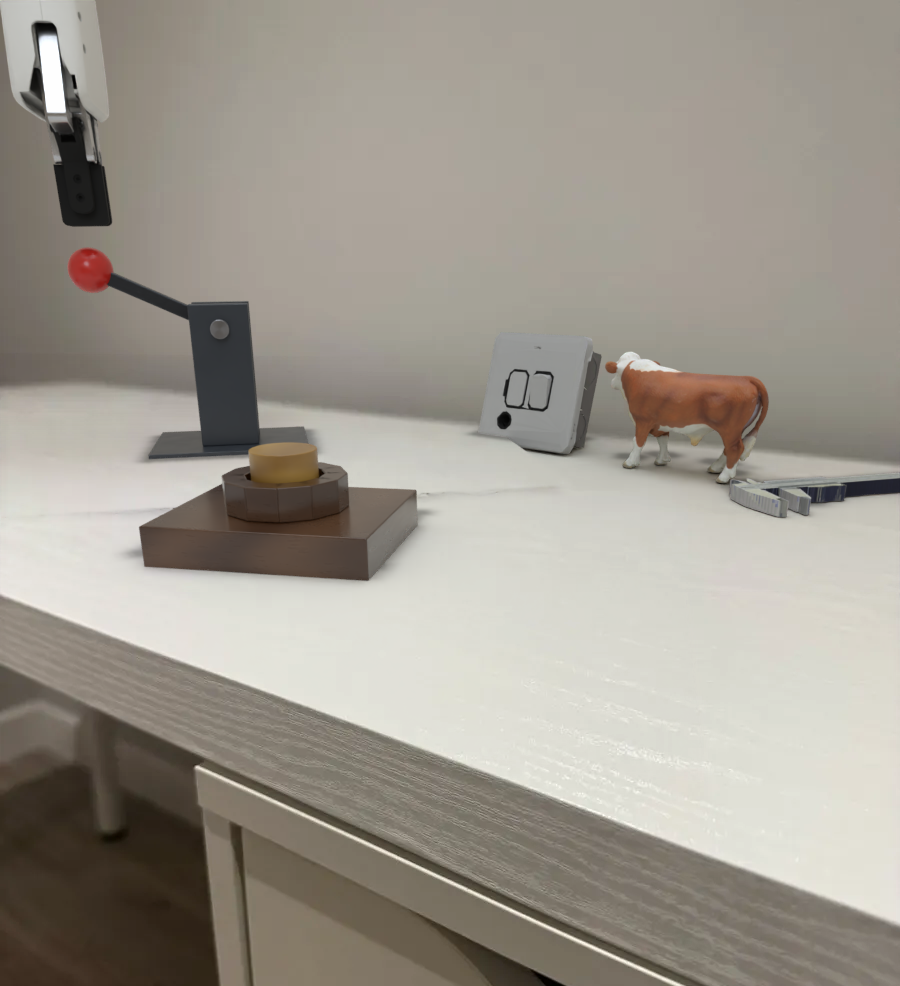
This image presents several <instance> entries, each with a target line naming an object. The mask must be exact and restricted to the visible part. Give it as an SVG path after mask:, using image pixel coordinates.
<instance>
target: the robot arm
mask: <svg viewBox="0 0 900 986" xmlns="http://www.w3.org/2000/svg"><path fill="white" fill-rule="evenodd" d="M0 17H1V24H2V32H3V38H4V39H3V40H4V47H5V55H6V60H7V68H8V76H9V82H10V89H11V94H12V96H13V99H14V100H15V102H16V103H17V104H18V105H19V106H20V107H22V108H23V109H24V110H26V111H27V112H28V113H30V114H32V115H33V116H34V117H36V118H37V119H39V120H41V121H42V122H44V123H45V124H46V127H47V133H48V138H49V139H48V140H49V143H50V149H51V153H52V159H53V162H54V163H53V164H52V166H53V171H54V178H55V185H56V191H57V196H58V202H59V209H60V215H61V220H62V223H63V224H64V225H65V226H67V227H73V228H79V227H80V228H81V227H82V228H83V227H86V228H87V227H110V226H112V224H113V216H112V210H111V203H110V196H109V195H110V194H109V189H108V182H107V175H106V174H107V173H106V168H105V166H104V165H103V157H102V149H101V141H100V132H99V124H98V122H99V123H100V124H103V123H104V122H106V121H107V119H109V117H110V105H109V104H110V103H109V92H108V83H107V75H106V67H105V59H104V51H103V43H102V37H101V36H102V35H101V29H100V23H99V22H100V21H99V15H98V9H97V3H96V0H0Z"/></svg>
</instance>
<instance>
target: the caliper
mask: <svg viewBox="0 0 900 986" xmlns="http://www.w3.org/2000/svg"><path fill="white" fill-rule="evenodd" d="M897 493H900V472H889V473H877V474H862V475H852V476H851V475H849V476H836V477H825V476H813V477H800V478H787V479H771V480H763V481H762V482H761V481H760V482H759V481H756V480H754V479H751V478H749V477H746V481H745V480H744V481H743V480H738V479H734V478H730V479H729V490H728V495H730V496H729V499H730V500H732V501H733V502H736V503H737V504H738V505H741V506H743V507H745V508H748V509H752V510H753V511H754V510H755V511H758V512H761V513H764V514H766V515H770V516H773V517H778V518H787V517H788V510H791V511H793V512H796V513H799V514H801V515H803V516H808V515H809V514H810V510H811V508H810V507H811V504H812V503H828V502H843V501H845V498H849V497H862V496H872V495H873V496H874V495H885V494H897Z"/></svg>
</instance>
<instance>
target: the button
mask: <svg viewBox="0 0 900 986" xmlns="http://www.w3.org/2000/svg"><path fill="white" fill-rule="evenodd" d="M248 453H249V455H248V462H249V463H248V464H249V466H250V475H251V481H254V482H258V483H291V482H302V481H307V480H311V479H316V478H319V467H318V462H319V453H318V447H317V446H316V445H314V444H311V443H308V444H307V443H295V442H286V443H271V444H264V445H259V446H255V447H253V448H251V449H249V451H248Z"/></svg>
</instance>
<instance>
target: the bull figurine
mask: <svg viewBox="0 0 900 986" xmlns="http://www.w3.org/2000/svg"><path fill="white" fill-rule="evenodd" d="M604 368H605V371H606V372H607V373H608V374H615V376H614V378H612V379H611V381H610V388H611V389H614V390H615V391H619V392H620V393H621V395H622V399H624V401H625V402H626V405H627V414H628V417H629V419H630V421H631V422H632V424H633V426H634V428H635V432H634V433H635V434H634V437H633V439H632V449H631V452H630V454H629V455H628V458H626V460H625V461H624V462H623V463H622V464H621V465H622V467H623V468H625V469H632V468H635V467H636V466H640V465H641V462H642V461H641V452H642V450H643V448H644V447H645V445H647V440H648V437H651V438H656V441H657V444H658V446H659V447H658V448H659V451H658V455H657V456H656V458H655V461H654V462H653V464H654V465H657V466H664V465H667V464H668V463H670V462H672V457H671V456H670V452H669V449H668V442H669V440H670V432H673V433H676V434H680V435H683V436H686V437H687V438H689V440H690V445H691V446H693V447H696V446H698V445H699V443H700V442H701V441H702V439H703V438H704V437H705V436H706V435H708V434H710V433H712V432H713V431H715V432H717V434H718V435H719V436H720V438H721V441H722V444H723V447H724V448H723V450H722V452H721V454H720V456H719V457H718V458H717V459H716V460H715V461H714V462H713V463H712V464H711V465H710V466H708V468H707V472H708V473H713V474H719V473H720V474H719V476H717V478H716V479H715V482H716V483H719V484H727V483H729V482H730V480H731V479H734V478H735V477H736V475H737V467H738V464H739V462H744V461H745V460H747V458H749V457H750V455H751V452H752V451H753V448H754V446H755V443H756V441H757V438H758V432H759V430H760V427H762V424H763V423H764V422H765V419H766V417H767V414H768V410H769V403H770V401H769V394H768V393H769V392H768V390H767V388H766V386H765V384H764V382H762V381H761V380H760V379H759V378H758V377H756V376H753V375H730V374H713V373H711V374H710V373H695V372H687V371H681V370H678V369H675V368H672V367H667V366H662V365H661V363H660V362H659V361H658V360H657V361H656V360H651V359H648V358H641V356H640V355H639V354H638V353H636V352H634V351H625V352H624V353H623V354H622V355H621V356H619V359H618V360H617V361H607V362H606V363H605V365H604ZM758 416H759V417H758ZM757 418H758V419H757ZM756 419H757V420H756ZM755 420H756V422H755V423H754V421H755ZM753 423H754V426H753V427H752V429H751V430H749V432H747V433H746V434H745V435H744V437H743V434H744V432H745V431H746V430H747V429H748V428H749V427H750V426H752V424H753Z"/></svg>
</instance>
